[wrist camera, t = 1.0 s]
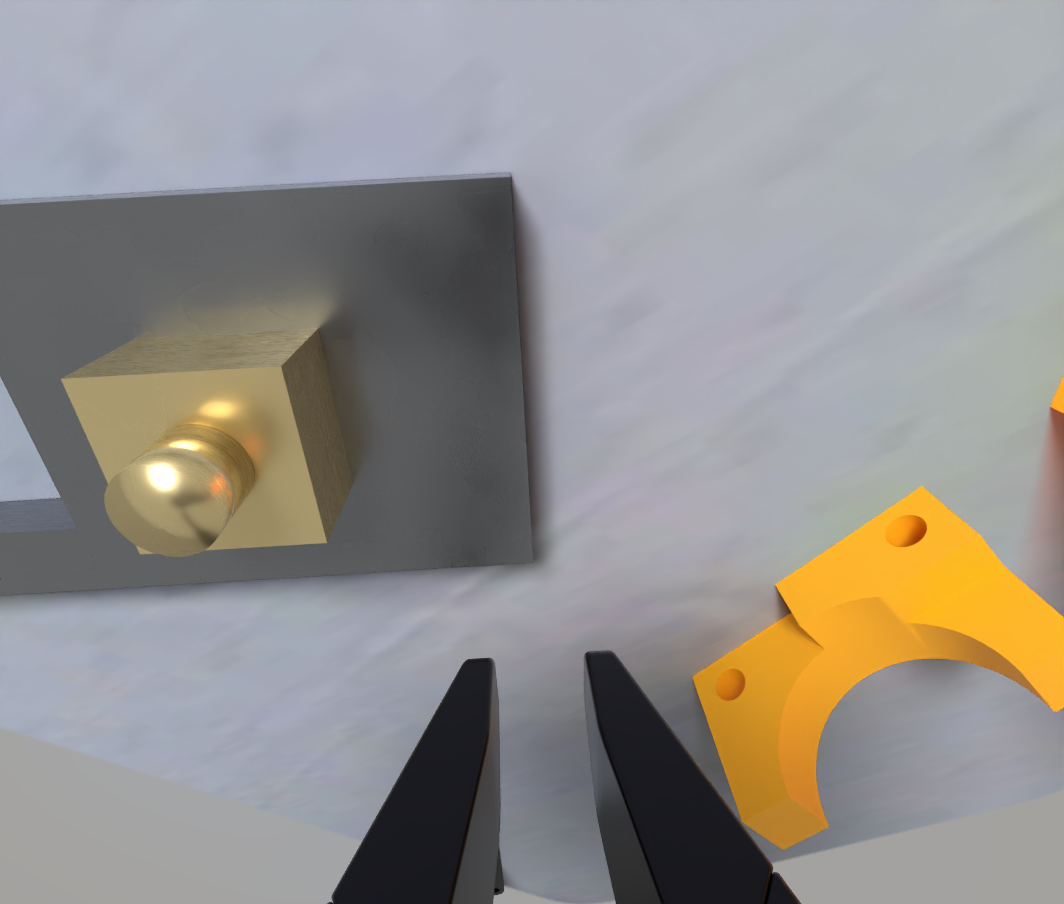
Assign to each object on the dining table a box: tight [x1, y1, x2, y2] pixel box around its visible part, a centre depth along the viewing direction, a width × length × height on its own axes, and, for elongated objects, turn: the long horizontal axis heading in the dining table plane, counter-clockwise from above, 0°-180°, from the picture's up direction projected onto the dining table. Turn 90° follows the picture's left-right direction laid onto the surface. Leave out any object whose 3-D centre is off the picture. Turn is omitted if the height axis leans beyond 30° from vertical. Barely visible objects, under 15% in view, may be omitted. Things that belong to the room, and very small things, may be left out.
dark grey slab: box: [0, 172, 533, 596], centre depth 18 cm, size 12×24×2 cm, turn 93°
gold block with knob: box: [61, 329, 353, 557], centre depth 15 cm, size 5×5×5 cm
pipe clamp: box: [692, 486, 1064, 850], centre depth 22 cm, size 12×4×6 cm, turn 135°
